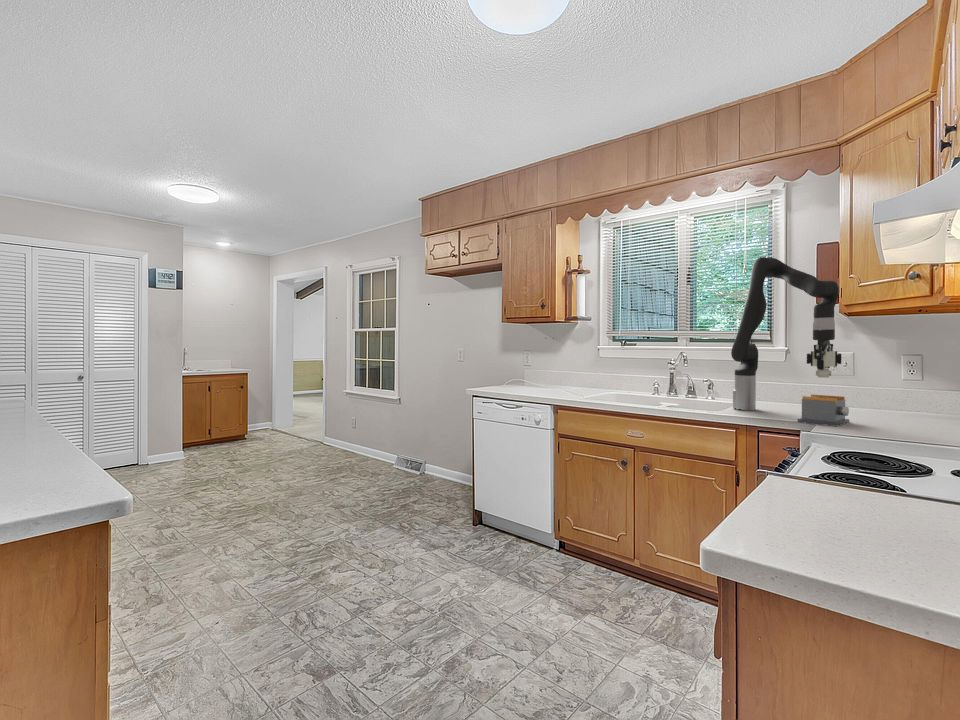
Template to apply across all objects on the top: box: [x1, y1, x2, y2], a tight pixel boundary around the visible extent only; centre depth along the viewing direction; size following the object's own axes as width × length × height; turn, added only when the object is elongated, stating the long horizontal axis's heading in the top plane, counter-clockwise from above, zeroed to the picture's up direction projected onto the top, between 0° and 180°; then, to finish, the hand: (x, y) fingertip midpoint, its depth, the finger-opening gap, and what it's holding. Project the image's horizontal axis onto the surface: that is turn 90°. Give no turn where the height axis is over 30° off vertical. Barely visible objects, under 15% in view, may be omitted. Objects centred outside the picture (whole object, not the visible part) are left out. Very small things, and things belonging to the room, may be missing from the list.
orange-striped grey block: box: [797, 394, 850, 426], centre depth 200 cm, size 15×14×11 cm
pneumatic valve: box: [806, 350, 842, 378], centre depth 200 cm, size 6×12×12 cm, turn 55°
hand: (823, 368), depth 200 cm, fingers closed on pneumatic valve, 6 cm apart
